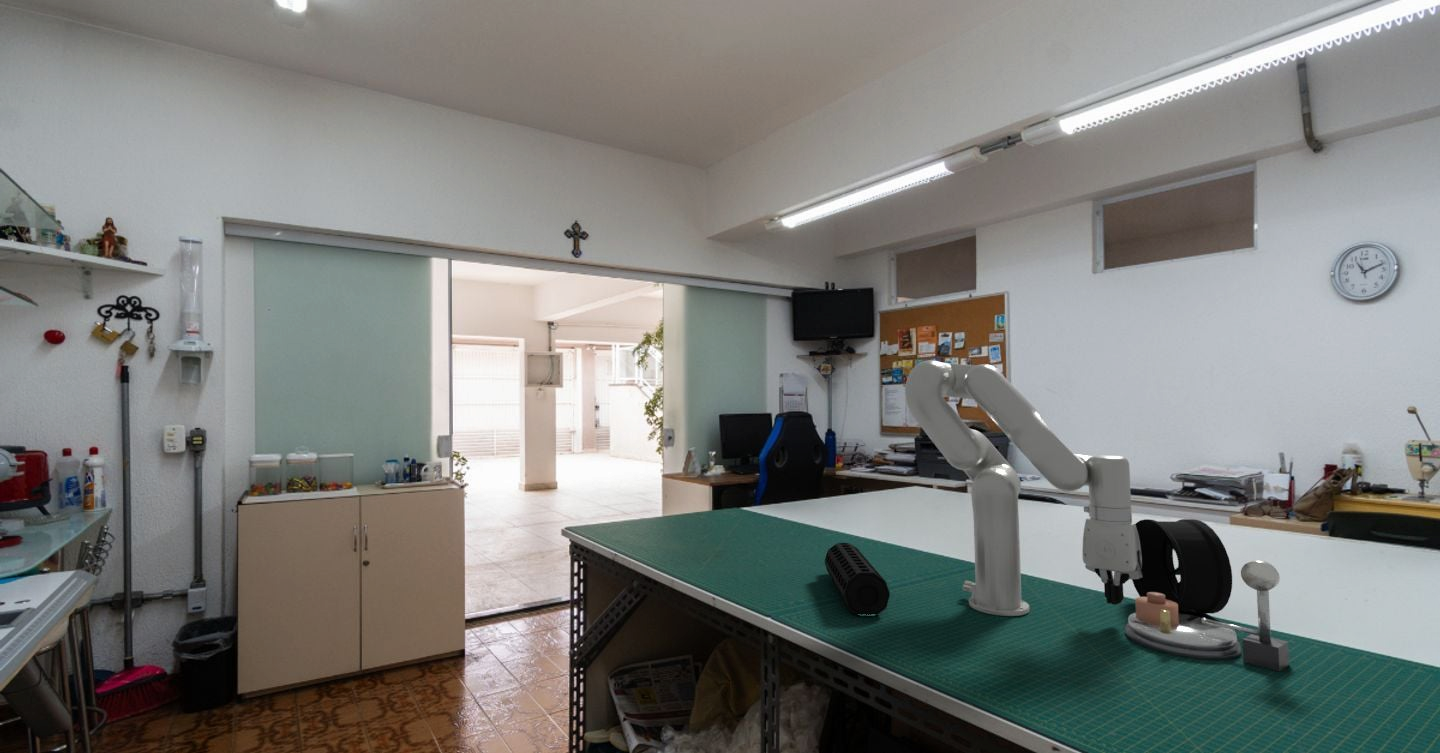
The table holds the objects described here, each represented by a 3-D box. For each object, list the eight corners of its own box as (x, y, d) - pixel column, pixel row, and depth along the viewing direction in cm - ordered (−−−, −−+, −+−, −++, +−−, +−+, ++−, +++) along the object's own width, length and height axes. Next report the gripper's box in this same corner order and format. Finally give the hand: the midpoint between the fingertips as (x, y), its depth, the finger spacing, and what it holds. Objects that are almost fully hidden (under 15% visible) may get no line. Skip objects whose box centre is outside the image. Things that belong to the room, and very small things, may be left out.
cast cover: (1129, 618, 128) (1128, 593, 128) (1145, 611, 132) (1144, 587, 132) (1169, 628, 122) (1168, 601, 122) (1184, 621, 126) (1183, 595, 126)
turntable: (1112, 629, 126) (1111, 601, 126) (1151, 613, 135) (1150, 586, 135) (1216, 657, 111) (1214, 625, 112) (1251, 637, 121) (1250, 607, 121)
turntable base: (1108, 637, 126) (1108, 630, 126) (1150, 619, 136) (1149, 613, 136) (1218, 667, 111) (1218, 660, 111) (1256, 645, 121) (1255, 638, 121)
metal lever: (1196, 649, 119) (1192, 552, 120) (1207, 643, 122) (1203, 548, 122) (1279, 671, 109) (1274, 565, 110) (1289, 664, 112) (1284, 561, 113)
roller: (816, 566, 176) (827, 531, 177) (850, 577, 176) (861, 542, 177) (839, 611, 138) (852, 566, 139) (882, 625, 138) (896, 580, 139)
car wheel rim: (1234, 627, 131) (1230, 528, 131) (1182, 626, 131) (1178, 528, 132) (1173, 597, 151) (1169, 512, 151) (1128, 596, 151) (1125, 512, 152)
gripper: (1065, 511, 138) (1068, 597, 137) (1141, 521, 126) (1145, 615, 125) (1082, 508, 142) (1086, 591, 142) (1158, 517, 130) (1162, 608, 129)
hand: (1114, 602), depth 133 cm, fingers closed
